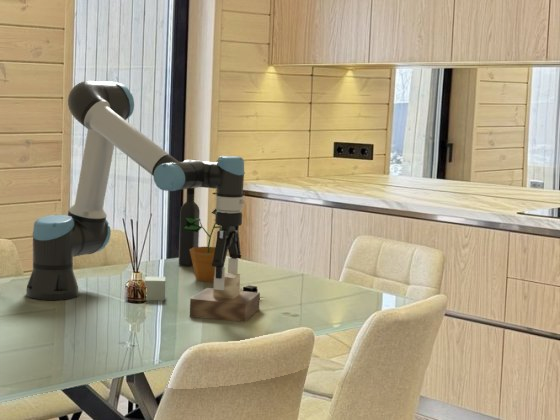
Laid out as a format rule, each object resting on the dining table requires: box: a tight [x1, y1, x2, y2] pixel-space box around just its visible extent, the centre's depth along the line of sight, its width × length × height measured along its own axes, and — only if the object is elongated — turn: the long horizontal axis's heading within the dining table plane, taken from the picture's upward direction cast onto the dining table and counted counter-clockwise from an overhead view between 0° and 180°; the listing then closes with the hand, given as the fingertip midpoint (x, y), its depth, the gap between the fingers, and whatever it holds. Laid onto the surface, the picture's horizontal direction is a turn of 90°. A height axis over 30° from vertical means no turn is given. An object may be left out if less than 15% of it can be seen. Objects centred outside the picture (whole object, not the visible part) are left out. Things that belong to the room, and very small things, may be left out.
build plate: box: [242, 285, 258, 293], centre depth 293 cm, size 12×7×5 cm, turn 151°
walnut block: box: [189, 287, 261, 322], centre depth 274 cm, size 16×16×5 cm
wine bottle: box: [178, 188, 201, 267], centre depth 343 cm, size 6×6×30 cm
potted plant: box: [183, 192, 222, 282], centre depth 319 cm, size 18×19×30 cm
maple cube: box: [213, 272, 241, 299], centre depth 273 cm, size 6×6×6 cm
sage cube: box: [144, 276, 166, 301], centre depth 289 cm, size 6×6×6 cm
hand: (225, 285), depth 273 cm, fingers open, 13 cm apart
